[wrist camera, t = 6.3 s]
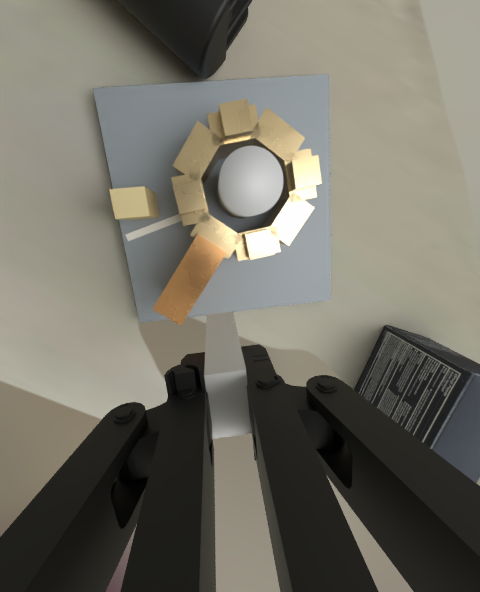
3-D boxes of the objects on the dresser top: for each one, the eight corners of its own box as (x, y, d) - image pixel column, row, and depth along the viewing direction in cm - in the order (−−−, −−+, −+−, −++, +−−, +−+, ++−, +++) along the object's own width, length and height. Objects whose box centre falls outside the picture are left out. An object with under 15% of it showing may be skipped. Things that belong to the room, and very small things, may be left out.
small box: (393, 416, 33) (472, 500, 23) (345, 404, 32) (407, 487, 22) (433, 338, 31) (541, 393, 21) (384, 323, 30) (472, 372, 20)
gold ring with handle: (222, 100, 21) (225, 60, 16) (320, 176, 24) (350, 162, 18) (125, 271, 24) (100, 283, 19) (221, 326, 26) (224, 351, 21)
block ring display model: (100, 96, 22) (34, 21, 14) (321, 83, 23) (380, 6, 15) (143, 317, 27) (113, 357, 19) (324, 296, 28) (370, 324, 20)
